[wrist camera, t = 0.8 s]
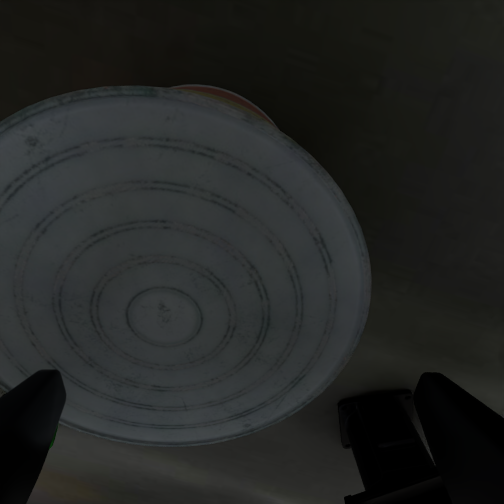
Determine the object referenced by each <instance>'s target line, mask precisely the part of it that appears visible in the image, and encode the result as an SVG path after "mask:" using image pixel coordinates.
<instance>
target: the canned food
mask: <svg viewBox="0 0 504 504" xmlns="http://www.w3.org/2000/svg"><path fill="white" fill-rule="evenodd" d="M370 300H371V267H370V260H369V255H368V249H367V245H366V242H365V239H364V236H363V232H362V229H361V227H360V224H359V222H358V220H357V218H356V215H355V213H354V211H353V209H352V207H351V206H350V204H349V202H348V201H347V199H346V197H345V196H344V194H343V192H342V191H341V189H340V188H339V187H338V185H337V184H336V183H335V181H334V180H333V179H332V177H331V176H330V175H329V174H328V172H327V171H326V170H325V169H324V168H323V167H322V166H321V165H320V164H319V163H318V162H317V161H316V160H315V159H314V158H313V157H312V156H311V155H310V154H309V153H308V152H307V151H306V150H304V149H303V148H302V147H301V146H300V145H298V144H297V143H296V142H295V141H294V140H293V139H291V138H290V137H288V136H287V135H286V134H284V133H283V132H281V131H280V130H279V129H278V128H277V126H276V125H275V124H274V122H273V121H272V120H271V119H270V118H269V117H268V116H267V115H266V114H265V113H264V112H263V111H262V110H261V109H260V108H258V107H257V106H256V105H255V104H253V103H252V102H250V101H249V100H247V99H245V98H244V97H242V96H240V95H238V94H236V93H233V92H231V91H228V90H225V89H222V88H219V87H214V86H208V85H197V84H195V85H180V86H174V87H170V88H162V87H149V86H106V87H99V88H92V89H85V90H78V91H74V92H70V93H66V94H63V95H59V96H55V97H51V98H48V99H46V100H43V101H41V102H38V103H36V104H33V105H31V106H28V107H26V108H24V109H22V110H20V111H18V112H17V113H15V114H13V115H11V116H9V117H8V118H6V119H4V120H2V121H1V122H0V388H2V389H3V390H4V391H5V392H9V391H10V390H11V389H13V388H14V387H16V386H17V385H18V384H20V383H21V382H23V381H24V380H25V379H27V378H28V377H30V376H31V375H32V374H34V373H35V372H37V371H39V370H41V369H56V370H59V371H60V373H61V376H62V379H63V383H64V386H65V390H66V402H65V405H64V408H63V411H62V414H61V417H60V419H59V422H58V423H60V424H62V425H64V426H67V427H69V428H72V429H75V430H77V431H80V432H83V433H86V434H89V435H93V436H96V437H100V438H104V439H108V440H112V441H117V442H123V443H129V444H136V445H145V446H160V447H183V446H197V445H205V444H212V443H217V442H223V441H228V440H231V439H235V438H239V437H243V436H246V435H249V434H252V433H255V432H258V431H260V430H262V429H265V428H267V427H270V426H272V425H274V424H276V423H278V422H280V421H282V420H284V419H286V418H287V417H289V416H291V415H292V414H294V413H296V412H297V411H299V410H300V409H302V408H303V407H305V406H306V405H307V404H309V403H310V402H311V401H312V400H314V399H315V398H316V397H317V396H318V395H320V394H321V393H322V392H323V391H324V390H325V389H326V388H327V387H328V386H329V385H330V384H331V383H332V382H333V380H334V379H335V378H336V377H337V376H338V375H339V373H340V372H341V371H342V369H343V368H344V367H345V365H346V364H347V362H348V361H349V359H350V358H351V356H352V354H353V352H354V350H355V348H356V347H357V345H358V342H359V340H360V338H361V335H362V333H363V330H364V327H365V323H366V320H367V316H368V311H369V306H370Z"/></svg>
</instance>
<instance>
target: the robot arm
mask: <svg viewBox="0 0 504 504" xmlns="http://www.w3.org/2000/svg"><path fill="white" fill-rule="evenodd" d="M413 400H414V405H415V408H416V411H417V414H418V416H419V419H420V422H421V425H422V428H423V431H424V434H425V437H426V439H427V442H428V445H429V448H430V451H431V454H432V457H433V459H434V462H435V464H434V463H433V461H432V459H431V457H430V455H429V453H428V451H427V449H426V447H425V446H424V444H423V442H422V440H421V438H420V436H419V434H418V432H417V430H416V428H415V427H414V425H413V423H412V412H413ZM65 402H66V390H65V386H64V383H63V379H62V376H61V373H60V371H59V370H56V369H41V370H39V371H37V372H35V373H34V374H32V375H31V376H30V377H28V378H27V379H25V380H24V381H23V382H21V383H20V384H18V385H17V386H16V387H14V388H13V389H11V390H10V391H9V392H7V393H6V394H4V395H3V396H2V397H0V504H26V503H27V501H28V498H29V496H30V494H31V492H32V490H33V488H34V485H35V483H36V481H37V479H38V477H39V474H40V472H41V469H42V467H43V464H44V462H45V459H46V456H47V453H48V450H49V448H50V445H51V442H52V439H53V436H54V434H55V431H56V428H57V425H58V422H59V419H60V417H61V414H62V411H63V408H64V405H65ZM338 413H339V423H340V433H341V443H342V446H343V448H345V449H350V448H352V451H353V454H354V457H355V460H356V463H357V466H358V470H359V473H360V476H361V479H362V482H363V485H364V488H365V491H364V492H361V493H358V494H356V495H353V496H351V495H348V496H345V497H344V500H345V504H504V418H503V417H501V416H500V415H498V414H497V413H496V412H494V411H493V410H492V409H490V408H489V407H487V406H486V405H485V404H483V403H482V402H480V401H479V400H478V399H476V398H475V397H473V396H472V395H471V394H469V393H468V392H466V391H465V390H464V389H462V388H461V387H460V386H458V385H457V384H455V383H454V382H453V381H451V380H450V379H448V378H447V377H446V376H444V375H443V374H441V373H437V372H425V373H423V374H422V375H421V377H420V379H419V382H418V384H417V387H416V389H415V392H414V395H413V394H412V392H411V391H410V390H402V391H396V392H390V393H385V394H379V395H373V396H367V397H361V398H355V399H349V400H344V401H340V402H339V403H338ZM435 465H436V466H435Z"/></svg>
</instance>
